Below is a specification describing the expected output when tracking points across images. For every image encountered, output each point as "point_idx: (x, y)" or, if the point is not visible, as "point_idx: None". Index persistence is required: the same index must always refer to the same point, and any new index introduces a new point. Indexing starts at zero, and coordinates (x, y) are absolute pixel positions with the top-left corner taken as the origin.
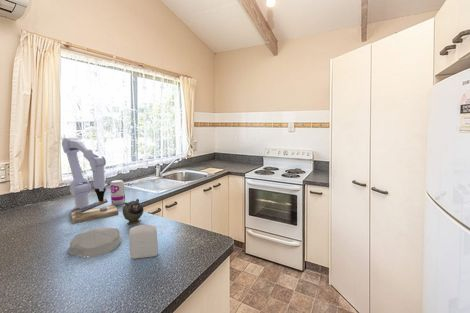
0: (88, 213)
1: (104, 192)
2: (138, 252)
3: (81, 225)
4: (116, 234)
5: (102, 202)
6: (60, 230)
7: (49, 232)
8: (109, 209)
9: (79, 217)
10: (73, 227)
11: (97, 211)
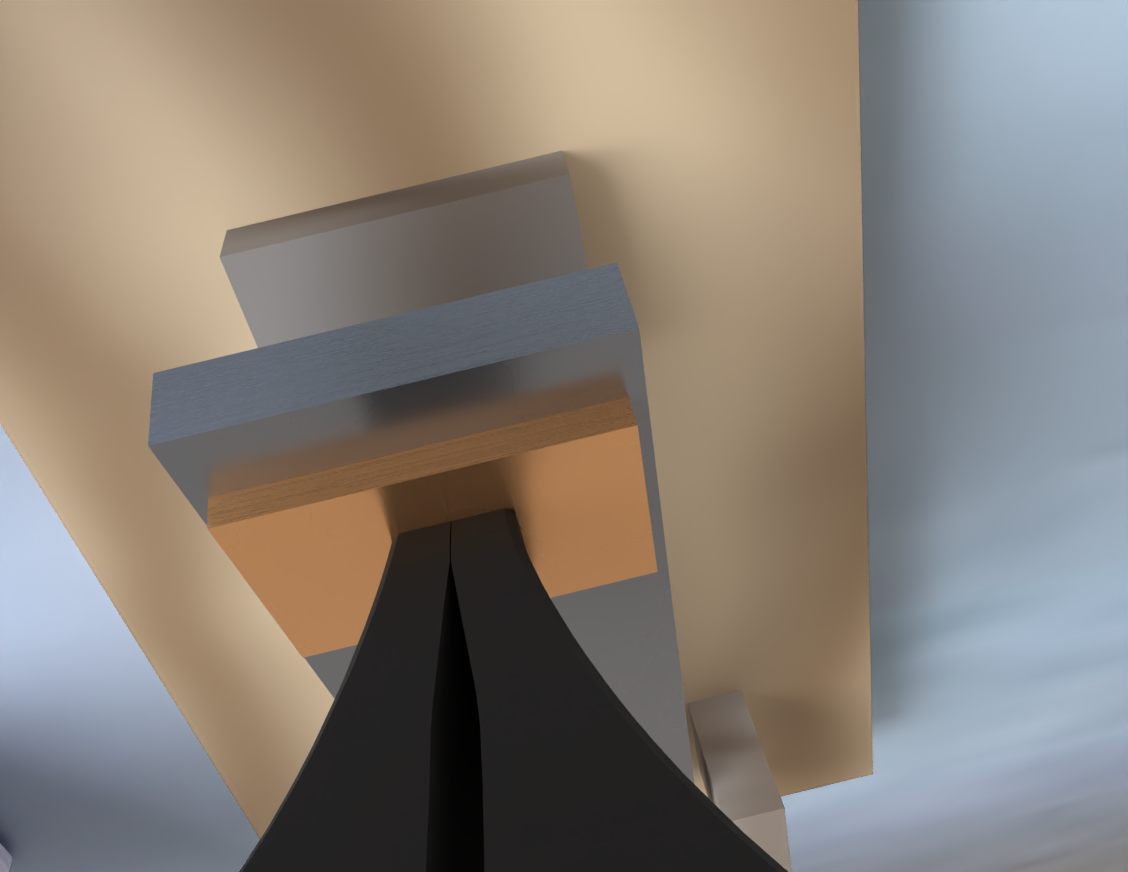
0: None
1: (727, 820)
2: None
3: (1079, 556)
4: None
5: (656, 477)
6: (1074, 769)
7: (1045, 856)
8: (478, 80)
9: (809, 703)
10: (1082, 648)
11: None
